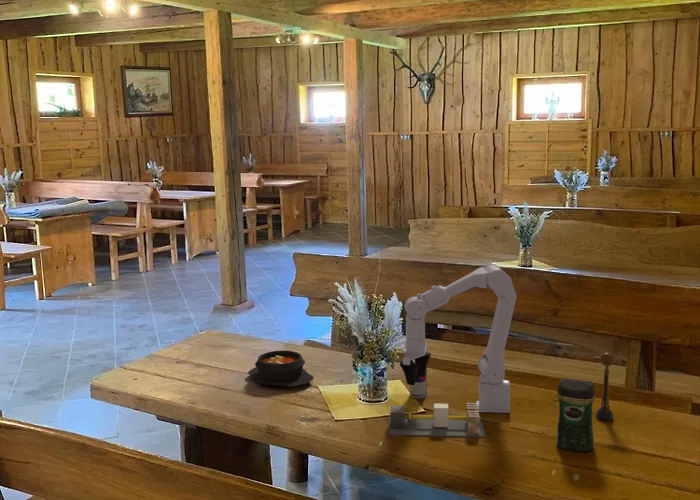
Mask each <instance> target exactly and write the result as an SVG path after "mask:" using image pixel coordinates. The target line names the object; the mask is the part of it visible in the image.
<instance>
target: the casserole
mask: <svg viewBox="0 0 700 500" xmlns="http://www.w3.org/2000/svg"><path fill="white" fill-rule="evenodd" d="M305 364H306V363H305V359H304V358H303V356H302V354H301V353H299V352H297V351H292V350H273V351H268V352H264V353H262V354H260V355H259V356H258V357H257V360H256V362H255V364H254V365H255V366H254V367H253V368H251V369H250V370H249V371H248V372H247V375H249V376H250V377H252V378H253V380H254V381H256V382H257V383H260V384H261V385H262V384H263V385H267V386H272V387H276V386H277V387H289V388H290V387H291V388H293V387H298V386H303V385H305V384H308V383H311V382H312V381H313V380H314V378H315V377H314V376H313V374H310V373H308V372H307V370H306V369H304V368H303V366H304V365H305Z"/></svg>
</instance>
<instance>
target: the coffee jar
mask: <svg viewBox="0 0 700 500" xmlns="http://www.w3.org/2000/svg"><path fill="white" fill-rule="evenodd" d="M556 396H557V399H558V403H559V405H558V406H559V410H558V411H559V412H558V421H557V428H556V436H555V442H556V446H558V447H559V448H561V449H565V450H569V451H575V452H583V453H584V452H589V451H591V450H592V449H593V446H594V440H595V439H594V427H593V426H594V425H593V415H592V414H593V404H594V402H595V399H596V392H595V385H594V382H593V381H590V380H589V381H588V380H580V379H572V378H565V377H563V378H561V380H560V381H559V384H558V388H557V393H556Z"/></svg>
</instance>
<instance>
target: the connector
mask: <svg viewBox="0 0 700 500" xmlns="http://www.w3.org/2000/svg"><path fill="white" fill-rule="evenodd" d="M405 408H406V407H405V405H390V412H389V419H390V429H404V426H405V419H404V415H406V413H405ZM407 415H408V422H411V415H412V411H408V412H407Z"/></svg>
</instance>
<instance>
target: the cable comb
mask: <svg viewBox="0 0 700 500" xmlns="http://www.w3.org/2000/svg"><path fill="white" fill-rule="evenodd" d="M465 404H466V407H465V408H466V411H465V414H466V415H465V416H468V420H466V421H467V428H468V434H479V423H480V418H481V417H480V412H478V407H477V403H476V402H466V403H465Z"/></svg>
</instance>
